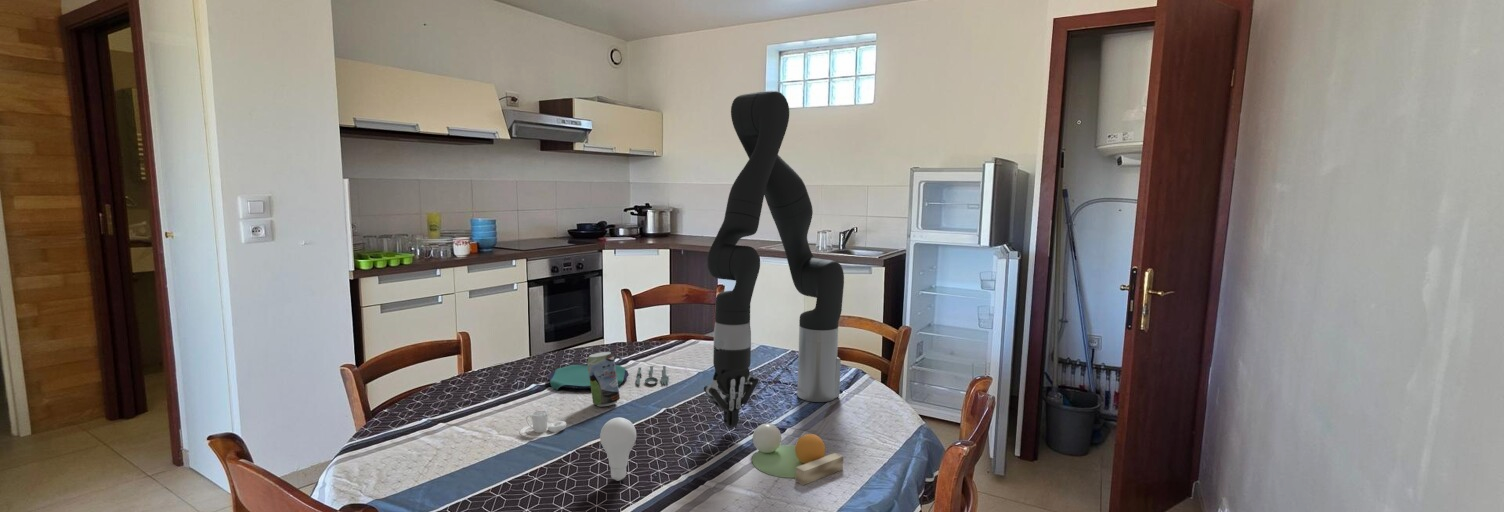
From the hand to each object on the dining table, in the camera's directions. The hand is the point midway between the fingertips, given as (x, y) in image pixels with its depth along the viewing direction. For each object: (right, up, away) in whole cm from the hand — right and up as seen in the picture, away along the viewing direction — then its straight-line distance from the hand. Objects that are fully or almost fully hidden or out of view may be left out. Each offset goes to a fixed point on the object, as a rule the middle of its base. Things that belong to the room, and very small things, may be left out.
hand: (730, 426), depth 139 cm
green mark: (+11, -3, -13) cm, 17 cm away
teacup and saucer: (-37, -2, -3) cm, 37 cm away
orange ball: (+15, -1, -14) cm, 21 cm away
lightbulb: (-19, -4, -22) cm, 29 cm away
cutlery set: (-32, +3, +35) cm, 47 cm away
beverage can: (-29, +1, +16) cm, 33 cm away
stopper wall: (+16, -4, -18) cm, 25 cm away
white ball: (+7, 0, -9) cm, 12 cm away
